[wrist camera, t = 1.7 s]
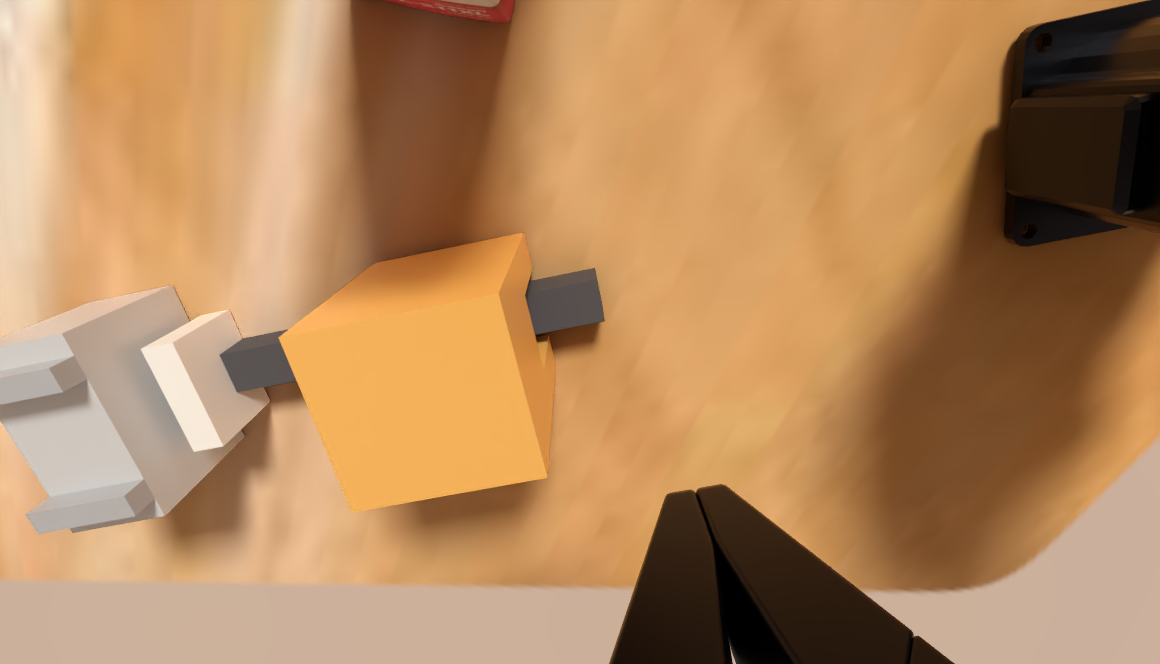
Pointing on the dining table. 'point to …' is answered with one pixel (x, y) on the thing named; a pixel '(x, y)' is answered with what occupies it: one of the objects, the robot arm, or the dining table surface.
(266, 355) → the bar
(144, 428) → the grey i-beam piece
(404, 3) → the ink box
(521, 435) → the notched orange cube
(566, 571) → the dining table surface
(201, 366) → the cream flat block
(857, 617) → the robot arm
